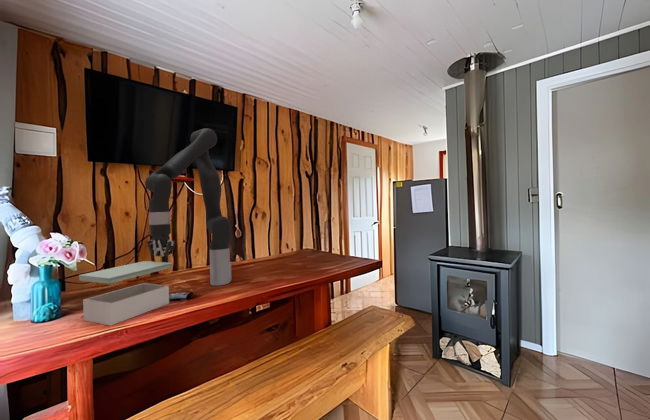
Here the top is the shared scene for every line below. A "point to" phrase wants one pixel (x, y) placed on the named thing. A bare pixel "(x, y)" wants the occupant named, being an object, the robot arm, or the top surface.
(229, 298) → the top surface
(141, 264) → the lid
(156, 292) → the tub
